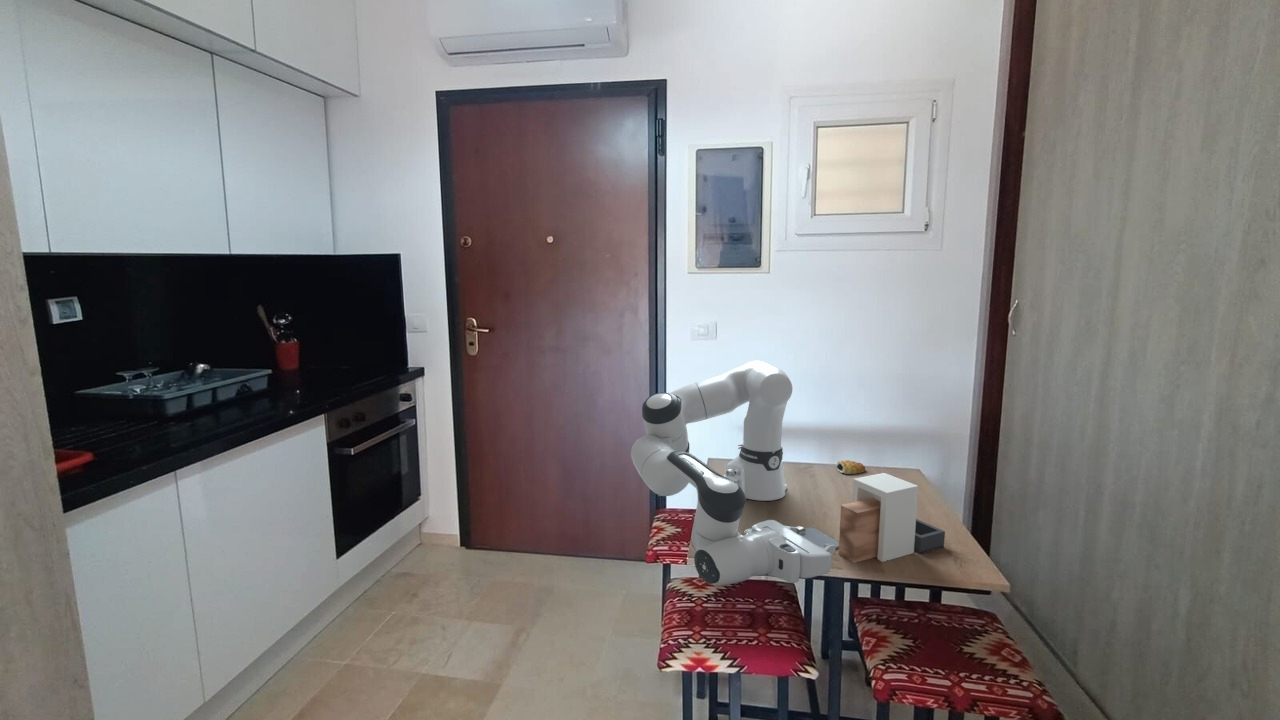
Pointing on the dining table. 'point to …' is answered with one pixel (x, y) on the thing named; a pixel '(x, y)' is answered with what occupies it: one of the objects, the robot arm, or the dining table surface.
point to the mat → (819, 538)
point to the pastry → (850, 467)
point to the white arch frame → (891, 512)
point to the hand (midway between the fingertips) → (817, 538)
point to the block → (859, 529)
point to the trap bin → (927, 537)
